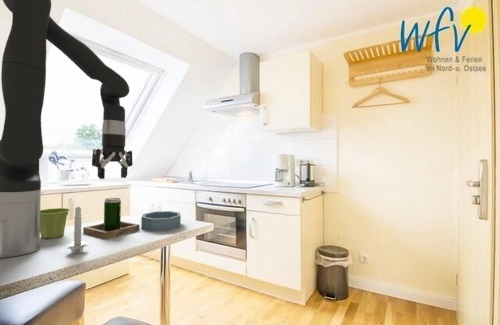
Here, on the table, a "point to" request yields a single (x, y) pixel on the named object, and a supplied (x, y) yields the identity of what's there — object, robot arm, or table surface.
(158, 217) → the slate bowl
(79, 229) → the screw
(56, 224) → the plant pot
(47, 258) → the table surface
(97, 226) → the walnut frame
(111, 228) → the beer can
